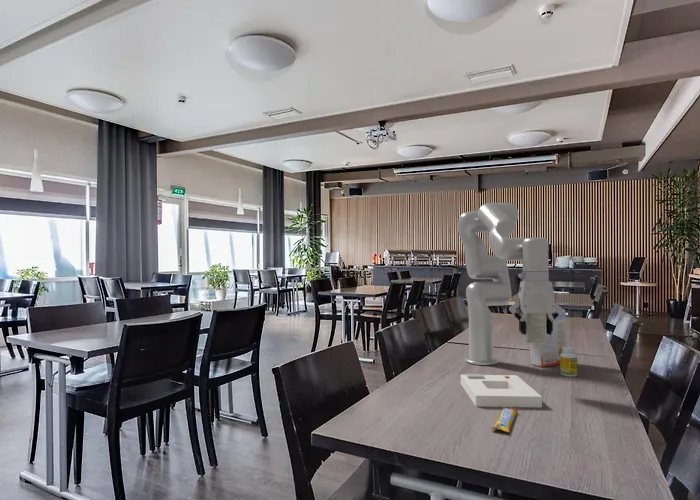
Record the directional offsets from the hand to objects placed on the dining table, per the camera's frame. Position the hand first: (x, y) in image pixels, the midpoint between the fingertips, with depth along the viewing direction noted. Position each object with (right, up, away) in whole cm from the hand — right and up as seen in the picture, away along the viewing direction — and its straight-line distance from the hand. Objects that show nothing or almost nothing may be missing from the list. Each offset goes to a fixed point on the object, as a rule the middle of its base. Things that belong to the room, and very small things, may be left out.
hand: (535, 333), depth 139 cm
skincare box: (0, -3, 0) cm, 3 cm away
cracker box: (+19, -18, +33) cm, 42 cm away
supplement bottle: (+19, -18, +17) cm, 31 cm away
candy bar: (-19, -18, -27) cm, 37 cm away
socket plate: (-14, -18, -5) cm, 23 cm away
